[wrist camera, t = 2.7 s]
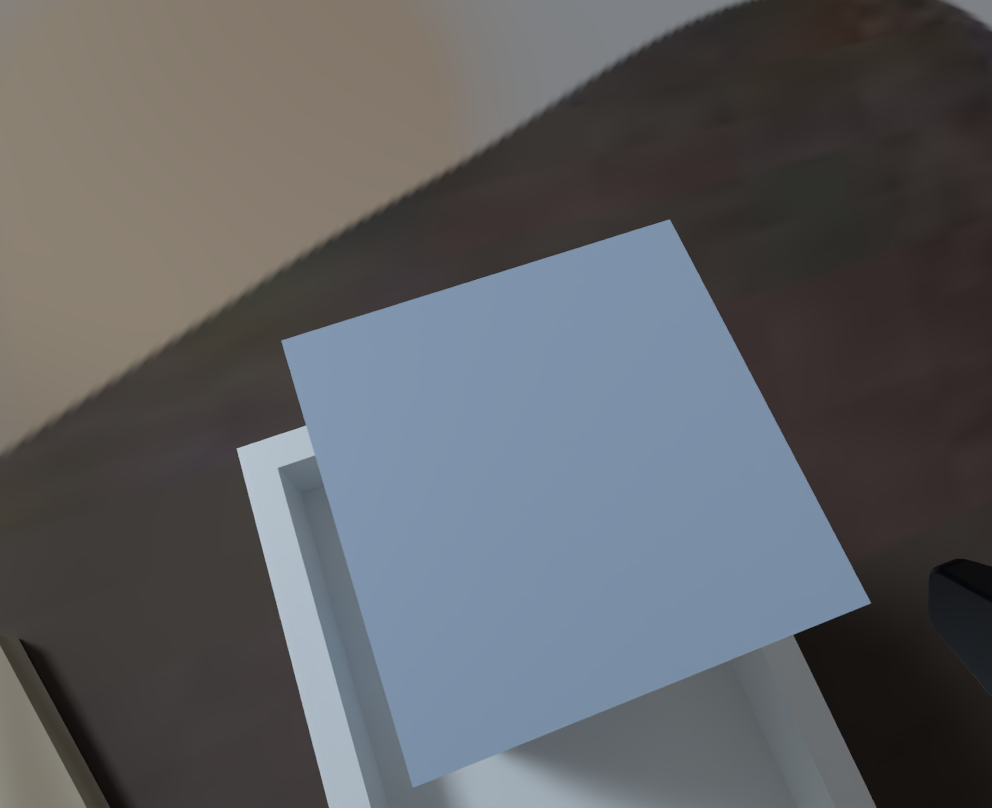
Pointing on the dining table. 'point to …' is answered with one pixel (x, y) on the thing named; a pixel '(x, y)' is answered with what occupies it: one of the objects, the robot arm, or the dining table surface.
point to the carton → (558, 495)
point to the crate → (557, 755)
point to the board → (37, 743)
